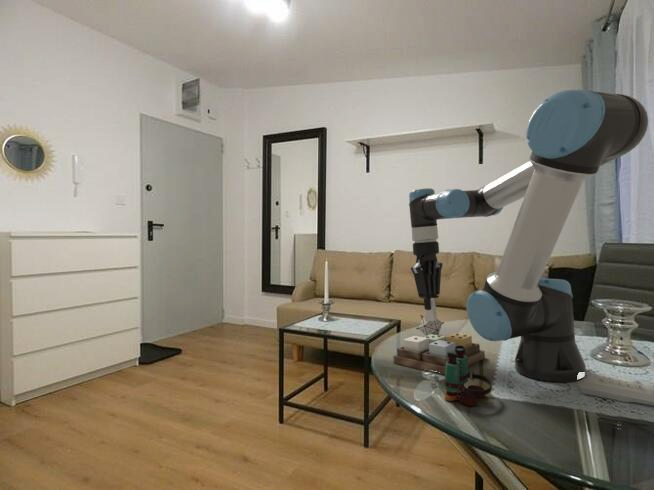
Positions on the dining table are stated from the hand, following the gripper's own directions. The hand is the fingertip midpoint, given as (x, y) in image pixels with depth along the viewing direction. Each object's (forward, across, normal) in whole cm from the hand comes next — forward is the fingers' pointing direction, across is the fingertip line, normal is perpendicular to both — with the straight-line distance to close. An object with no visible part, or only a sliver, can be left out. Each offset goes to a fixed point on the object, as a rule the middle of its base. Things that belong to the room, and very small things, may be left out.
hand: (431, 319), depth 115 cm
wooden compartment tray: (+10, +4, +4) cm, 12 cm away
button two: (+7, +8, +9) cm, 14 cm away
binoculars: (+11, +22, +23) cm, 34 cm away
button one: (+7, +8, 0) cm, 11 cm away
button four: (+7, 0, +9) cm, 11 cm away
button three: (+8, 0, 0) cm, 8 cm away
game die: (+11, -16, -12) cm, 23 cm away
